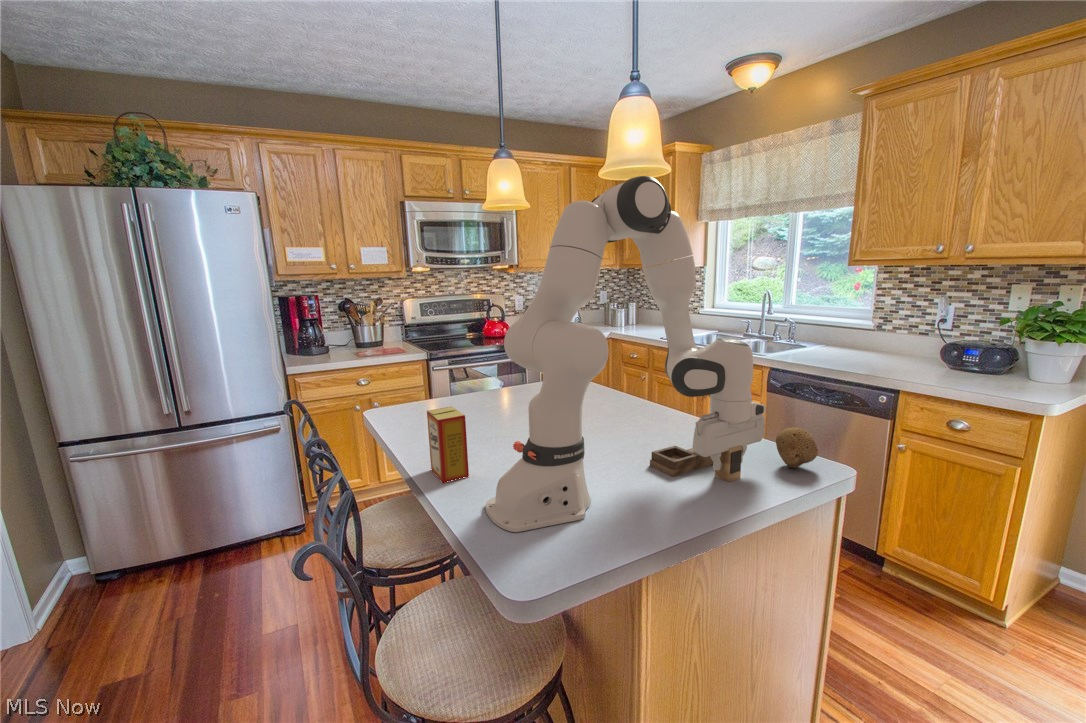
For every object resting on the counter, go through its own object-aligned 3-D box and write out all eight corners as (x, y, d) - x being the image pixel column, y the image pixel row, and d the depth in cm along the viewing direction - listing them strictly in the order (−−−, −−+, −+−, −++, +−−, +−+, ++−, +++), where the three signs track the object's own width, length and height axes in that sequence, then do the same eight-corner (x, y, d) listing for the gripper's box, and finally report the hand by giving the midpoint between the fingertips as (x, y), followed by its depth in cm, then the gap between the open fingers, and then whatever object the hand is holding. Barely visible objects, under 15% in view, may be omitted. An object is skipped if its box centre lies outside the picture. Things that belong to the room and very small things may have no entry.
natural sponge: (811, 461, 121) (814, 423, 119) (820, 476, 113) (824, 435, 111) (771, 458, 124) (774, 421, 122) (777, 472, 115) (780, 432, 114)
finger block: (714, 476, 115) (715, 443, 113) (726, 472, 117) (727, 440, 115) (729, 482, 111) (731, 449, 110) (741, 478, 113) (742, 445, 112)
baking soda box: (468, 477, 118) (465, 413, 115) (442, 483, 115) (438, 418, 112) (455, 464, 126) (451, 405, 124) (431, 469, 123) (426, 409, 120)
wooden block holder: (672, 476, 115) (673, 438, 113) (649, 465, 122) (650, 429, 120) (728, 459, 124) (729, 424, 122) (703, 450, 131) (704, 416, 129)
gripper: (708, 420, 103) (706, 481, 106) (771, 405, 113) (767, 461, 116) (686, 413, 109) (685, 471, 111) (748, 399, 119) (745, 453, 121)
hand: (727, 466), depth 114 cm, fingers open, 5 cm apart
